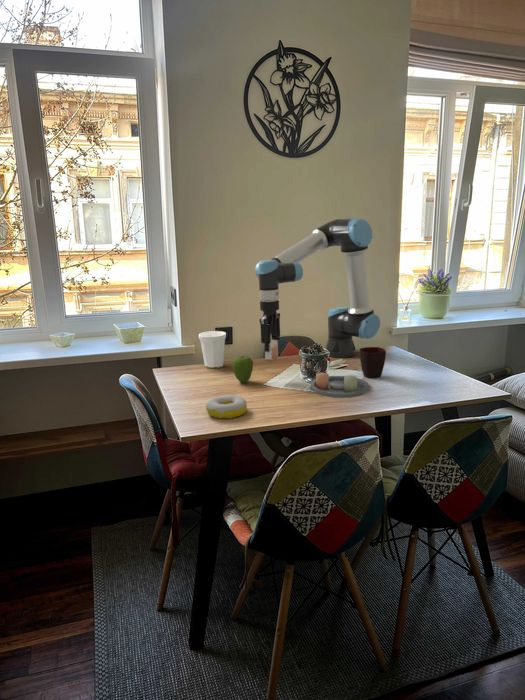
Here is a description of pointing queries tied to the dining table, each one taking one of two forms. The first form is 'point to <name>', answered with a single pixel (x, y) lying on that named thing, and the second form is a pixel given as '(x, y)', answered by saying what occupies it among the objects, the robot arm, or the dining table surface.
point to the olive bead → (350, 384)
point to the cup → (213, 347)
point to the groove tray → (340, 387)
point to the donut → (226, 406)
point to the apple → (242, 368)
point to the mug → (372, 361)
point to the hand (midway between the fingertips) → (271, 357)
